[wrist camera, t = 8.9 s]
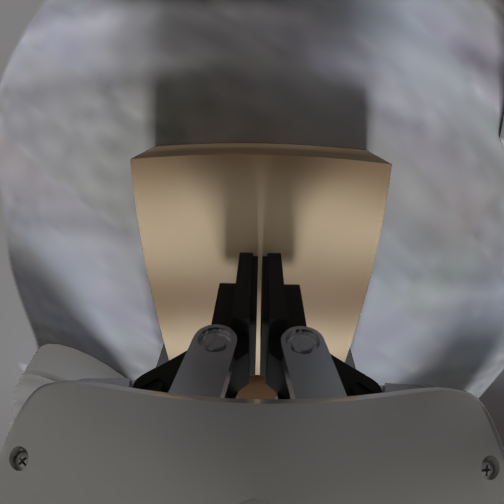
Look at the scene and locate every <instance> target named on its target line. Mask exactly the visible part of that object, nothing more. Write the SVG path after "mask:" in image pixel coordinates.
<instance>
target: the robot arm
mask: <svg viewBox="0 0 504 504" xmlns="http://www.w3.org/2000/svg"><path fill="white" fill-rule="evenodd" d="M257 286H258V256H253V253H248V252H240V254H239V262H238V269H237V277H236V283H220V284H219V288H218V293H217V298H216V303H215V308H214V313H213V318H212V323H211V325H207V326H205V327H203V328H201V329H200V330H198V331H197V332H196V334H195V335H194V337H193V339H192V341H191V343H190V346H189V348H188V350H187V351H185V352H184V353H182V354H180V355H178V356H176V357H175V358H173V359H171V360H169V361H167V362H166V363H164V364H162V365H160V366H158V367H156V368H155V369H153V370H151V371H149V372H147V373H145V374H143V375H142V376H140V377H139V378H138V379H137V380H134V381H131V379H130V378H84V379H79V380H65V381H57V382H52V383H48V384H45V385H42V386H40V387H38V388H37V389H36V390H35V391H34V392H33V393H32V394H31V395H30V396H29V397H28V399H27V400H26V402H25V403H24V405H23V406H22V408H21V409H20V411H19V413H18V415H17V417H16V419H15V421H14V423H13V425H12V427H11V429H10V431H9V433H8V436H7V438H6V441H5V443H4V446H3V449H2V451H1V454H0V504H504V449H503V446H502V443H501V441H500V438H499V436H498V433H497V430H496V428H495V426H494V424H493V422H492V419H491V417H490V416H489V414H488V412H487V410H486V409H485V407H484V405H483V404H482V403H481V401H480V400H479V399H478V398H477V397H476V396H474V395H472V394H471V393H468V392H466V391H462V390H457V389H452V388H439V387H434V386H429V385H408V384H392V383H385V384H384V386H381V385H378V383H376V382H375V381H374V380H373V379H371V378H369V377H368V376H366V375H364V374H363V373H361V372H359V371H358V370H356V369H354V368H353V367H351V366H349V365H348V364H346V363H345V362H343V361H341V360H340V359H338V358H336V357H335V356H333V355H332V354H330V352H329V350H328V347H327V345H326V342H325V340H324V338H323V336H322V335H321V333H319V332H318V331H317V330H315V329H313V328H311V327H307V325H306V319H305V313H304V307H303V301H302V295H301V289H300V285H299V284H284V278H283V268H282V259H281V253H268V254H267V256H262V285H261V328H260V376H265V384H267V385H268V386H269V387H270V388H272V389H273V390H274V391H275V399H239V392H240V391H239V390H241V389H242V388H244V387H245V386H246V385H248V384H249V379H250V376H255V366H256V329H257Z"/></svg>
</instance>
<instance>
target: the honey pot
mask: <svg viewBox="0 0 504 504" xmlns="http://www.w3.org/2000/svg"><path fill="white" fill-rule="evenodd" d="M84 378H124V377H123V376H122V375H121V374H119V373H118V372H116V371H115V370H114V369H112V368H111V367H109V366H108V365H106V364H104V363H103V362H101V361H99V360H97V359H96V358H94V357H92V356H90V355H88V354H86V353H83V352H81V351H79V350H77V349H74V348H71V347H67V346H64V345H60V344H46V345H43V346H40V348H39V349H38V351H37V352H36V354H35V355H34V357H33V359H32V360H31V362H30V363H29V365H28V367H27V368H26V370H25V372H24V373H23V375H22V377H21V379H20V381H19V383H18V384H17V386H16V387H15V390H14V398H15V404H14V406H13V408H12V414H13V416H12V420H11V421H10V428H11V427H12V425H13V423H14V421H15V419H16V417H17V415H18V413H19V411H20V409H21V408H22V406H23V405H24V403H25V402H26V400H27V399H28V397H29V396H30V395H31V394H32V393H33V392H34V391H35V390H36V389H37V388H38V387H40V386H42V385H45V384H48V383H52V382H57V381H65V380H79V379H84Z"/></svg>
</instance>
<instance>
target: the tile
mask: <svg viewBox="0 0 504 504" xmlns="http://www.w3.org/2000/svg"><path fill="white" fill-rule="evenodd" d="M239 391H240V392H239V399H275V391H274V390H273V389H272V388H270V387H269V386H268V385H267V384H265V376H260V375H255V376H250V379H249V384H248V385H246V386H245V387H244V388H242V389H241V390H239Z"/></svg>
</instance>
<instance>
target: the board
mask: <svg viewBox="0 0 504 504" xmlns="http://www.w3.org/2000/svg"><path fill="white" fill-rule="evenodd" d="M130 162H131V171H132V180H133V188H134V196H135V203H136V210H137V217H138V224H139V230H140V236H141V241H142V247H143V253H144V258H145V263H146V268H147V273H148V278H149V283H150V287H151V292H152V296H153V301H154V305H155V309H156V313H157V317H158V321H159V325H160V329H161V333H162V337H163V340H164V344H165V348H166V351H167V355H168V358H169V360H171V359H173V358H175V357H176V356H178V355H180V354H182V353H184V352H185V351H187V350H188V348H189V346H190V343H191V341H192V339H193V337H194V335H195V334H196V332H197V331H198V330H200V329H201V328H203V327H205V326H207V325H211V323H212V318H213V313H214V308H215V303H216V298H217V293H218V288H219V284H220V283H236V277H237V269H238V262H239V254H240V252H248V253H253V256H258V286H257V329H256V366H255V375H260V328H261V285H262V256H267V254H268V253H281V259H282V268H283V278H284V284H299V285H300V289H301V295H302V301H303V307H304V313H305V319H306V325H307V327H311V328H313V329H315V330H317V331H318V332H319V333H321V335H322V336H323V338H324V340H325V342H326V345H327V347H328V350H329V352H330V354H332V355H333V356H335V357H336V358H338V359H340V360H341V361H343V362H345V360H346V357H347V354H348V351H349V348H350V345H351V342H352V339H353V336H354V333H355V330H356V327H357V323H358V320H359V317H360V313H361V310H362V306H363V303H364V299H365V295H366V292H367V288H368V284H369V280H370V276H371V272H372V268H373V264H374V260H375V255H376V251H377V246H378V242H379V237H380V232H381V227H382V222H383V217H384V211H385V206H386V200H387V194H388V187H389V181H390V174H391V167H392V164H390V163H389V162H387V161H385V160H383V159H381V158H380V157H378V156H376V155H374V154H372V153H370V152H369V151H367V150H358V149H349V148H338V147H326V146H312V145H295V144H268V143H212V144H185V145H168V146H155V147H153V148H151V149H149V150H147V151H145V152H143V153H141V154H139V155H137V156H135V157H134V158H132V159H130Z"/></svg>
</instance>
